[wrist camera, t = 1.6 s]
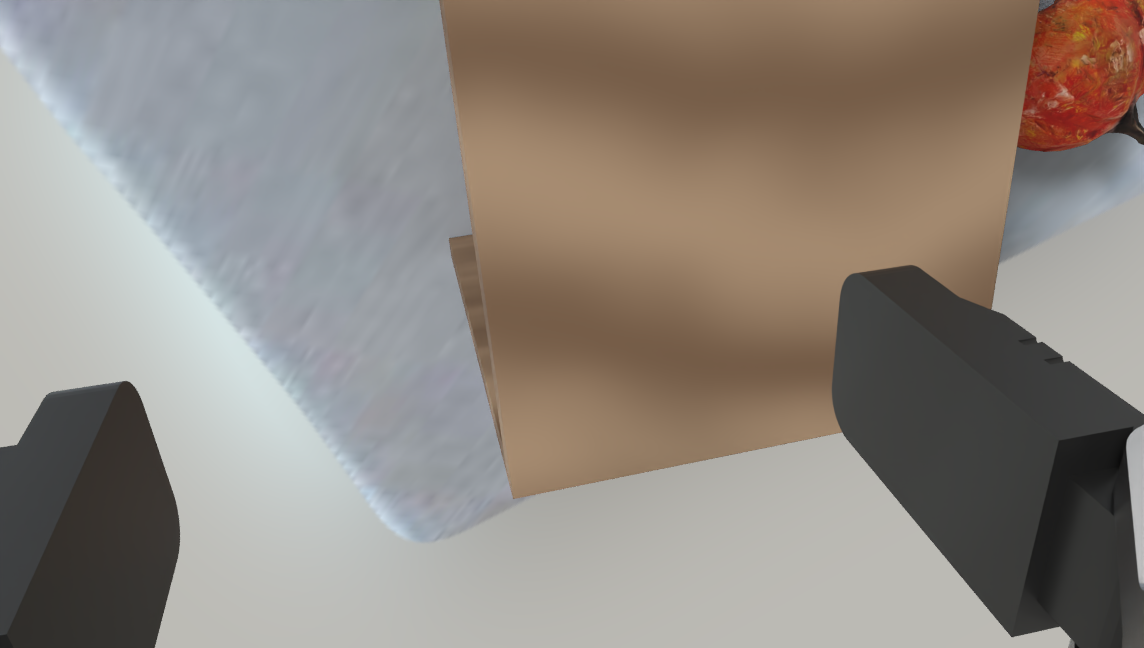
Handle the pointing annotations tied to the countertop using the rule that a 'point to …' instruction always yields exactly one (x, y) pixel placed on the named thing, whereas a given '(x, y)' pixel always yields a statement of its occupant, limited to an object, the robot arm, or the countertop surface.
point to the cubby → (711, 206)
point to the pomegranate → (1084, 74)
